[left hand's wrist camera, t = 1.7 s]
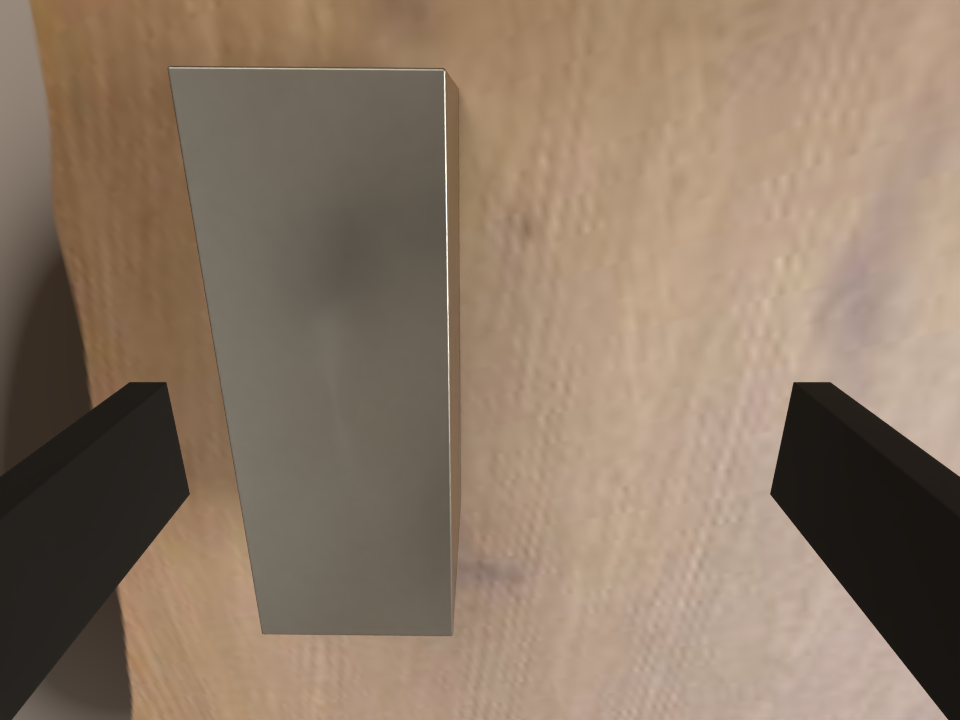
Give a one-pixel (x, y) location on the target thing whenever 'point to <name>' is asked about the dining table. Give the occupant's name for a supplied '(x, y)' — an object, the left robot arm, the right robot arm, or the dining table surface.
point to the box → (335, 332)
